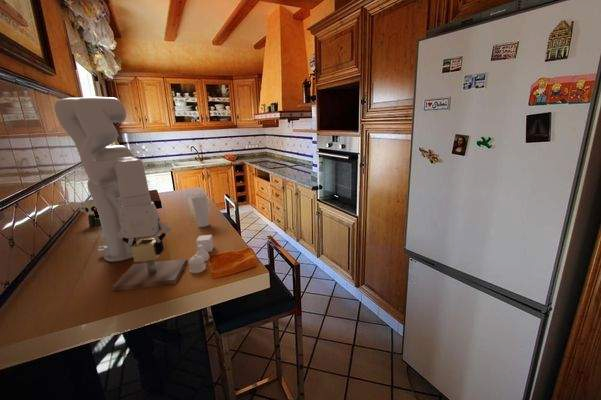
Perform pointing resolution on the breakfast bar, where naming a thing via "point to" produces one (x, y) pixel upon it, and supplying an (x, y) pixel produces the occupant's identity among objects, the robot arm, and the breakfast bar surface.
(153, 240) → the brass collar
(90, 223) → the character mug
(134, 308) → the breakfast bar surface
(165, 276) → the post board
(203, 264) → the container set
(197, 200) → the drinking glass
